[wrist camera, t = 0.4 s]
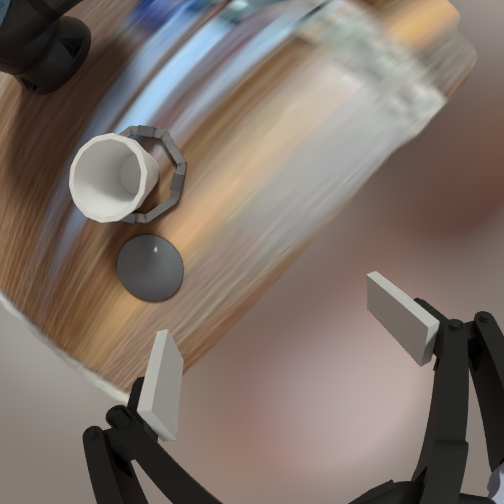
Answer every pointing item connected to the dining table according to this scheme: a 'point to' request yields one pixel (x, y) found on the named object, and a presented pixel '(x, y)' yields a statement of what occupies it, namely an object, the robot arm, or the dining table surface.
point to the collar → (177, 177)
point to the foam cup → (111, 177)
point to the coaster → (150, 267)
